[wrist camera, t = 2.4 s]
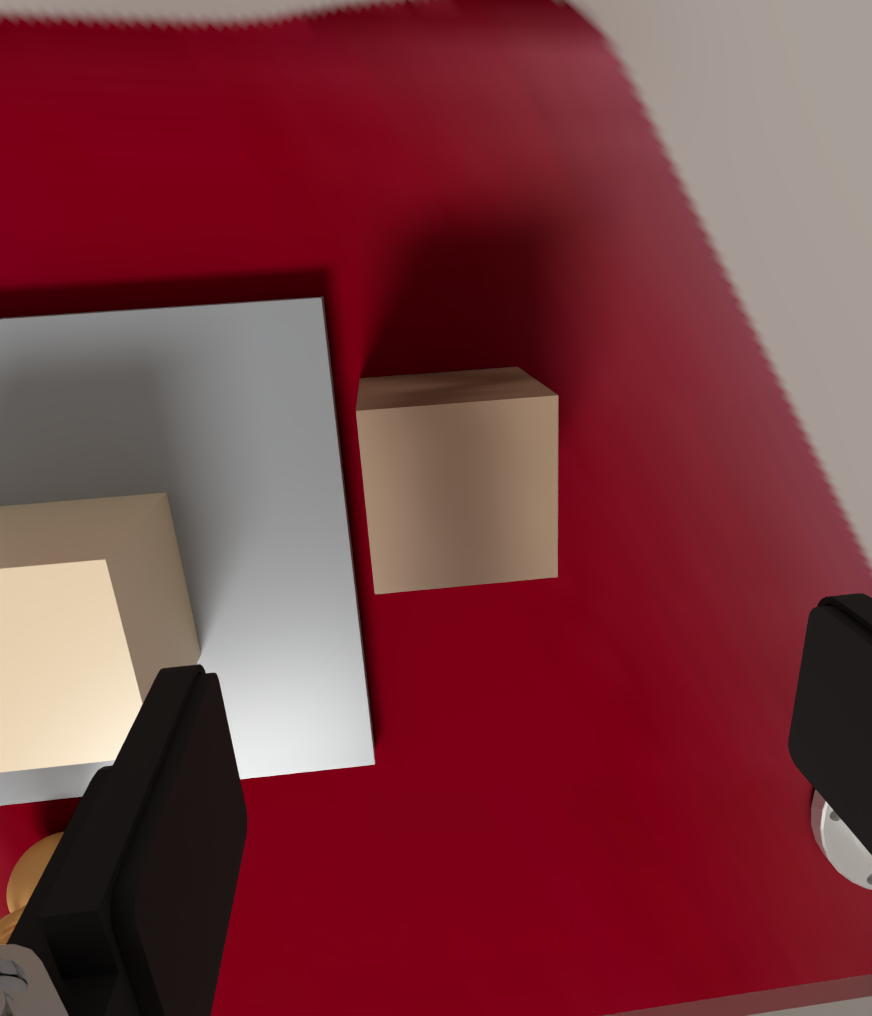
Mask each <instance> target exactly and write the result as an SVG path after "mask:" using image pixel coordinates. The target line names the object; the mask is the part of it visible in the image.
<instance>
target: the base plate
mask: <svg viewBox="0 0 872 1016" xmlns="http://www.w3.org/2000/svg"><path fill="white" fill-rule="evenodd" d="M197 664H201V665H202V666H203V667H204V669H205V672H206V673H214V672H215V673H216V674H217V676H218V678H219V682H220V687H221V691H222V696H223V701H224V706H225V710H226V715H227V720H228V725H229V729H230V734H231V739H232V744H233V748H234V753H235V758H236V763H237V767H238V772H239V777H240V779H246V778H255V777H265V776H274V775H283V774H292V773H301V772H310V771H319V770H328V769H337V768H346V767H356V766H365V765H374V764H375V745H374V737H373V728H372V719H371V710H370V701H369V693H368V684H367V675H366V666H365V658H364V649H363V640H362V631H361V622H360V614H359V605H358V596H357V587H356V578H355V570H354V561H353V552H352V543H351V535H350V526H349V517H348V508H347V499H346V491H345V482H344V473H343V464H342V455H341V447H340V438H339V429H338V420H337V412H336V403H335V394H334V385H333V376H332V368H331V359H330V350H329V341H328V332H327V324H326V315H325V306H324V297H309V298H294V299H279V300H264V301H249V302H234V303H219V304H204V305H189V306H174V307H159V308H144V309H129V310H114V311H99V312H84V313H69V314H54V315H39V316H24V317H9V318H0V806H1V805H10V804H19V803H28V802H37V801H46V800H55V799H64V798H73V797H82V796H83V795H84V793H85V791H86V789H87V787H88V785H89V783H90V781H91V779H92V778H93V776H94V775H95V773H96V772H97V770H99V769H100V768H102V767H104V766H111V765H113V764H114V762H115V759H116V757H117V755H118V753H119V751H120V749H121V747H122V745H123V743H124V741H125V739H126V737H127V735H128V733H129V731H130V729H131V727H132V725H133V723H134V721H135V719H136V717H137V715H138V713H139V711H140V708H141V706H142V704H143V702H144V700H145V698H146V696H147V694H148V692H149V690H150V688H151V686H152V684H153V682H154V680H155V678H156V676H157V674H158V672H159V671H160V669H163V668H169V667H178V666H188V665H197Z"/></svg>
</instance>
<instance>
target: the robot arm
mask: <svg viewBox="0 0 872 1016" xmlns="http://www.w3.org/2000/svg"><path fill="white" fill-rule="evenodd" d="M788 747H789V752H790V755H791V758H792V760H793V762H794V764H795V765H796V767H797V768H798V769H799V770H800V772H801V773H802V774H803V775H804V776H805V777H806V779H807V780H808V781H809V782H810V783H811V784H812V786H813V787H814V788H815V792H814V797H813V801H812V805H811V826H812V829H813V833H814V837H815V840H816V842H817V844H818V845H819V847H820V849H821V850H822V852H823V854H824V855H825V856H826V857H827V859H828V860H829V861H830V862H831V863H832V865H833V866H834V867H835V868H836V870H837V871H838V872H839V873H840V874H842V875H843V876H844V877H846V878H847V879H849V880H850V881H851V882H853V883H855V884H857V885H860V886H862V887H864V888H867V889H871V890H872V598H871V597H869V596H867V595H865V594H858V593H857V594H848V595H839V596H829V597H825V598H823V599H821V601H820V602H819V603H818V606H817V607H815V608H813V609H812V610H811V612H810V614H809V618H808V624H807V631H806V637H805V643H804V649H803V655H802V661H801V667H800V673H799V679H798V685H797V691H796V698H795V704H794V710H793V716H792V722H791V728H790V734H789V740H788ZM246 834H247V811H246V805H245V801H244V796H243V791H242V786H241V782H240V777H239V772H238V767H237V763H236V758H235V753H234V748H233V744H232V739H231V734H230V729H229V725H228V720H227V715H226V710H225V706H224V701H223V696H222V691H221V687H220V682H219V678H218V676H217V674H216V673H215V672H214V673H206V672H205V669H204V667H203V666H202V665H201V664H197V665H188V666H178V667H169V668H163V669H160V671H159V672H158V674H157V676H156V678H155V680H154V682H153V684H152V686H151V688H150V690H149V692H148V694H147V696H146V698H145V700H144V702H143V704H142V706H141V708H140V711H139V713H138V715H137V717H136V719H135V721H134V723H133V725H132V727H131V729H130V731H129V733H128V735H127V737H126V739H125V741H124V743H123V745H122V747H121V749H120V751H119V753H118V755H117V757H116V759H115V762H114V764H113V765H111V766H104V767H102V768H100V769H99V770H97V772H96V773H95V775H94V776H93V778H92V779H91V781H90V783H89V785H88V787H87V789H86V791H85V793H84V795H83V796H82V798H81V800H80V802H79V804H78V806H77V808H76V810H75V812H74V814H73V816H72V818H71V820H70V822H69V824H68V825H67V827H66V829H65V831H64V833H63V835H62V837H61V839H60V841H59V843H58V845H57V847H56V849H55V851H54V853H53V854H52V856H51V858H50V860H49V862H48V864H47V866H46V868H45V870H44V872H43V874H42V876H41V878H40V880H39V881H38V883H37V885H36V887H35V889H34V891H33V893H32V895H31V897H30V899H29V901H28V903H27V905H26V907H25V909H24V910H23V912H22V914H21V916H20V918H19V920H18V922H17V924H16V926H15V928H14V930H13V932H12V934H11V936H10V938H9V939H8V941H7V943H6V945H0V1016H210V1015H211V1010H212V1005H213V1000H214V995H215V990H216V985H217V980H218V975H219V970H220V965H221V960H222V955H223V950H224V945H225V940H226V935H227V930H228V925H229V920H230V915H231V910H232V905H233V900H234V895H235V890H236V885H237V880H238V875H239V870H240V865H241V860H242V855H243V850H244V845H245V840H246ZM603 1016H872V974H870V975H864V976H857V977H850V978H844V979H837V980H831V981H824V982H817V983H811V984H804V985H798V986H791V987H785V988H778V989H772V990H765V991H758V992H752V993H745V994H739V995H732V996H726V997H719V998H713V999H706V1000H700V1001H693V1002H687V1003H680V1004H674V1005H668V1006H661V1007H655V1008H648V1009H642V1010H635V1011H629V1012H622V1013H616V1014H609V1015H603Z"/></svg>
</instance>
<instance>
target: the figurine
mask: <svg viewBox="0 0 872 1016" xmlns="http://www.w3.org/2000/svg"><path fill="white" fill-rule="evenodd" d="M63 833H64V832H59V833H56V834H52V835H50V836H48V837H45V838H43V839H42V840H40V841H38V842H37V843H36V844H34V845H33V846H32V847H30V848H29V849H28V850H27V851H26V852H25V853H24V854H23V856H22V857H21V858H20V859H19V861H18V862H17V864H16V865H15V867H14V869H13V871H12V873H11V876H10V879H9V882H8V887H7V904H8V908H9V911H10V914H8V915H6V916H5V917H3V918H1V919H0V945H6V943H7V941H8V939H9V938H10V936H11V934H12V932H13V930H14V928H15V926H16V924H17V922H18V920H19V918H20V916H21V914H22V912H23V910H24V909H25V907H26V905H27V903H28V901H29V899H30V897H31V895H32V893H33V891H34V889H35V887H36V885H37V883H38V881H39V880H40V878H41V876H42V874H43V872H44V870H45V868H46V866H47V864H48V862H49V860H50V858H51V856H52V854H53V853H54V851H55V849H56V847H57V845H58V843H59V841H60V839H61V837H62V835H63ZM10 926H12V927H10ZM8 927H10V928H8ZM7 928H8V929H7Z"/></svg>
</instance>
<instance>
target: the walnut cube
mask: <svg viewBox="0 0 872 1016" xmlns="http://www.w3.org/2000/svg"><path fill="white" fill-rule="evenodd" d="M356 416H357V426H358V436H359V445H360V455H361V465H362V475H363V484H364V494H365V504H366V513H367V523H368V533H369V542H370V552H371V562H372V572H373V581H374V591H375V594H383V593H394V592H404V591H415V590H426V589H436V588H447V587H457V586H468V585H478V584H489V583H500V582H510V581H521V580H531V579H542V578H552V577H558V395H557V394H556V393H554V392H553V391H552V390H550V389H549V388H547V387H546V386H544V385H543V384H542V383H540V382H539V381H537V380H536V379H534V378H533V377H532V376H530V375H529V374H527V373H526V372H525V371H523V370H522V369H520V368H519V367H507V368H493V369H480V370H466V371H453V372H439V373H426V374H412V375H399V376H385V377H372V378H360V381H359V389H358V398H357V406H356Z"/></svg>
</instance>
